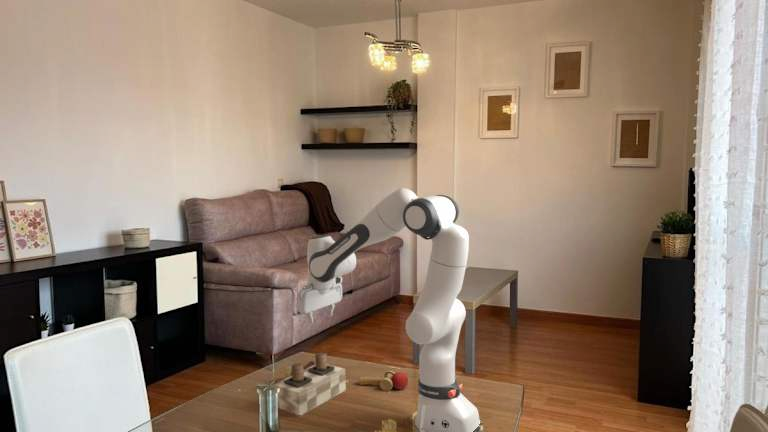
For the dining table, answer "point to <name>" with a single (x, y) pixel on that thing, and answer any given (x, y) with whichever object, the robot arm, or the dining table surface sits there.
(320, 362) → the peg right
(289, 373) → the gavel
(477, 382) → the dining table surface
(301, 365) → the peg left
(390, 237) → the robot arm
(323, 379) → the collar block
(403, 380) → the kendama
